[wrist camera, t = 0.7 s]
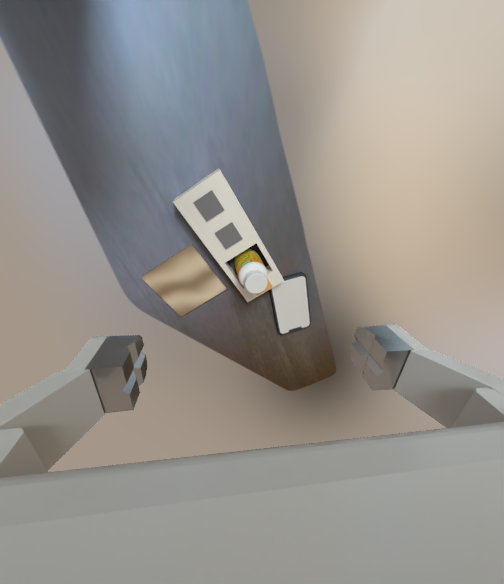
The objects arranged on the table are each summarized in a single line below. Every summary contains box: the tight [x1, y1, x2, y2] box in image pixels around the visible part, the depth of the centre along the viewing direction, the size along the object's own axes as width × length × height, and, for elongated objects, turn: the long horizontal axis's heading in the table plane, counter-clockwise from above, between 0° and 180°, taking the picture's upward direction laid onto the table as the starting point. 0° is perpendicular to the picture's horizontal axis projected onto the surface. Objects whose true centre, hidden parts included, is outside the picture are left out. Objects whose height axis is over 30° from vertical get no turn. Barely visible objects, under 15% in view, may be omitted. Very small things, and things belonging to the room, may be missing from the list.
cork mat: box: [141, 244, 226, 317], centre depth 48 cm, size 12×12×1 cm
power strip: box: [173, 168, 284, 302], centre depth 44 cm, size 24×9×4 cm, turn 30°
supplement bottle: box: [234, 249, 268, 293], centre depth 45 cm, size 5×5×10 cm
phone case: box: [270, 272, 311, 335], centre depth 57 cm, size 9×2×16 cm
